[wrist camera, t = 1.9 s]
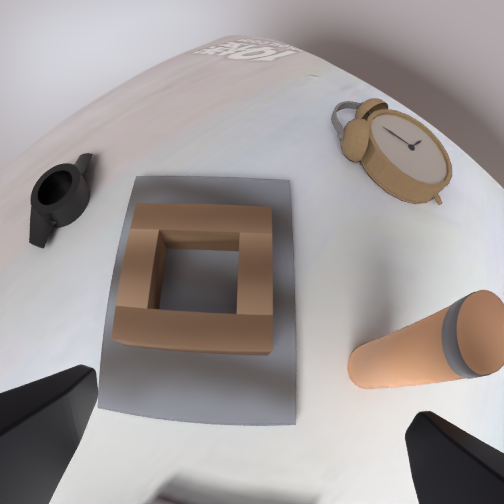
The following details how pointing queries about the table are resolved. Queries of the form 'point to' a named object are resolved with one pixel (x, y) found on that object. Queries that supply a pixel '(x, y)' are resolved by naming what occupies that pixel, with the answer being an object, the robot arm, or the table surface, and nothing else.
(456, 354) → the terracotta pin
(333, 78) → the table surface
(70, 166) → the black hollow winged cylinder
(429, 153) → the alarm clock
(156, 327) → the block
